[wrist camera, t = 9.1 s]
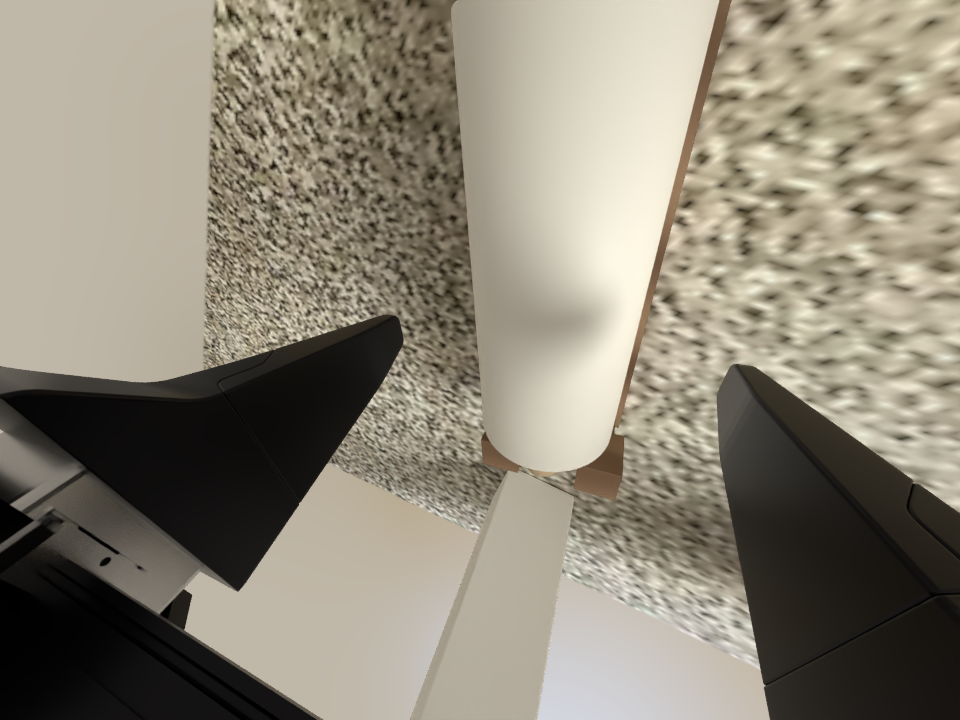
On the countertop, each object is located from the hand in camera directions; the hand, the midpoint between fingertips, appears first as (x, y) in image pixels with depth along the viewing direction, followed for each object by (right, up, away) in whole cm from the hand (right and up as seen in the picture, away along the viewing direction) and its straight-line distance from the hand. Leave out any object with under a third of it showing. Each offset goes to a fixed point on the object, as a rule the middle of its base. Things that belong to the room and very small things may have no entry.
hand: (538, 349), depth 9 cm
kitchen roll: (+1, +3, +4) cm, 5 cm away
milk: (+3, -13, +22) cm, 25 cm away
